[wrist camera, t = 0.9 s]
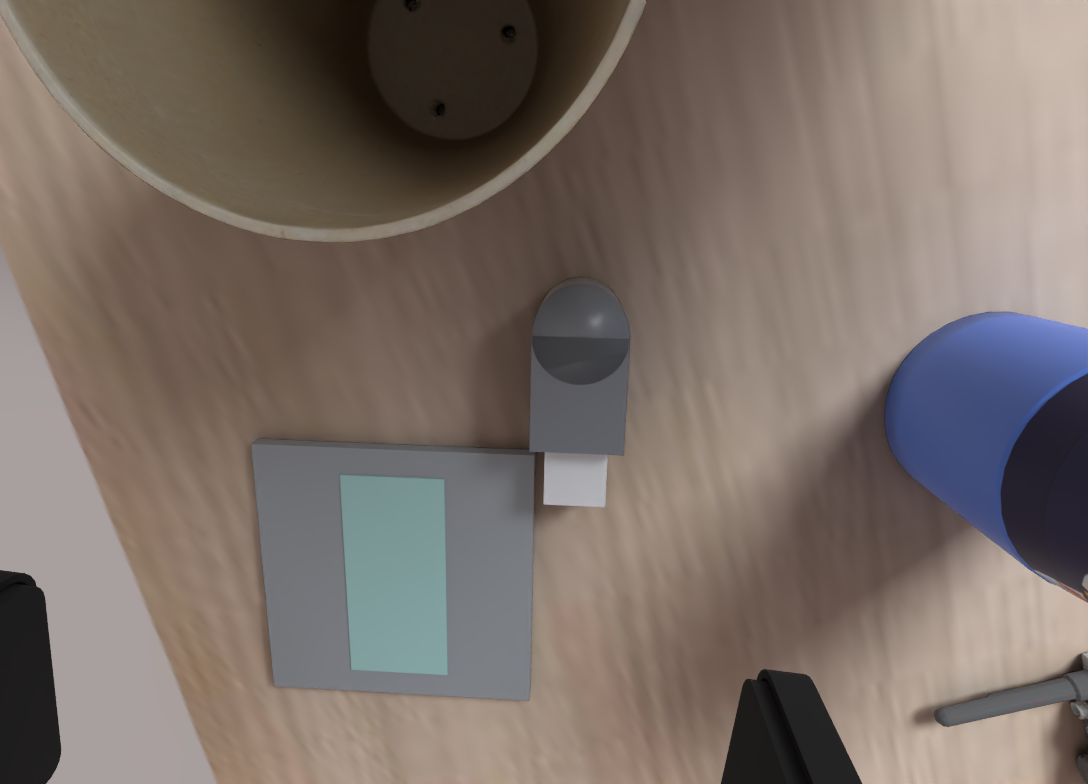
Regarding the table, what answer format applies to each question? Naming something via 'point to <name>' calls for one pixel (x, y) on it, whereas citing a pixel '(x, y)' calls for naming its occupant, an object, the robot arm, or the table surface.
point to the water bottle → (1003, 434)
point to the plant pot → (325, 99)
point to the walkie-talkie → (1027, 703)
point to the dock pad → (397, 566)
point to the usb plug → (578, 389)
